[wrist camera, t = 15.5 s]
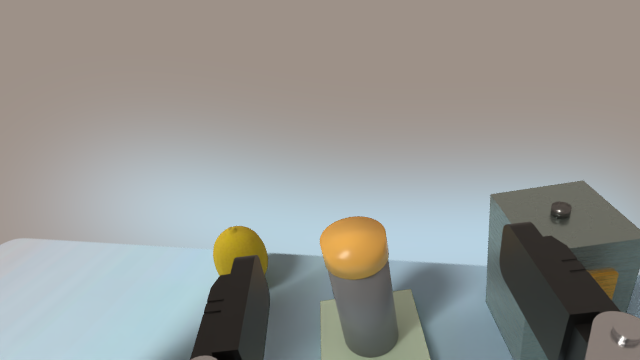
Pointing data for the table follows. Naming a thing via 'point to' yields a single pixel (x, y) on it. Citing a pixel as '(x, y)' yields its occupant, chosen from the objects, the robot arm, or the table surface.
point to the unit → (574, 231)
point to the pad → (410, 348)
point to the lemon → (237, 248)
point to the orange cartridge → (361, 284)
